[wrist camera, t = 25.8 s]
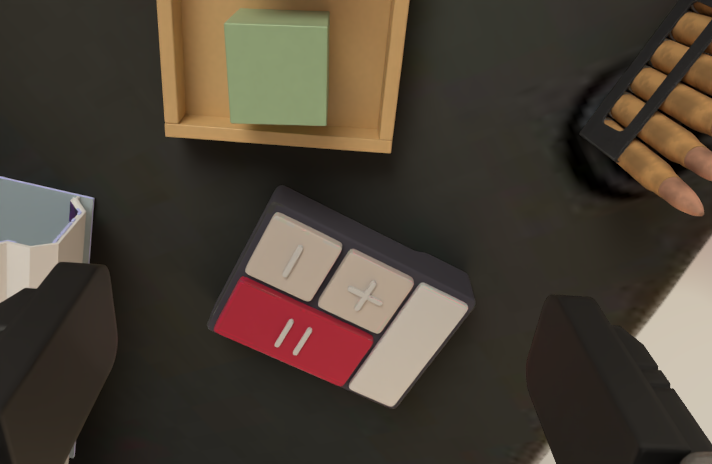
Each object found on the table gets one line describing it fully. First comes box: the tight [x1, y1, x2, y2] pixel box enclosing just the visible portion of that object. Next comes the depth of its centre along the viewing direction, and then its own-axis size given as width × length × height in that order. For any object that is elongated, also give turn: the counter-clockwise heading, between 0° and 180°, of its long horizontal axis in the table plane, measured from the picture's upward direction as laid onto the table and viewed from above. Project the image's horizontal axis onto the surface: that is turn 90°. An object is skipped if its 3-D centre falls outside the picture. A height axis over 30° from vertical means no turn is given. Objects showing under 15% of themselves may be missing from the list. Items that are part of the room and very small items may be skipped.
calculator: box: [207, 185, 476, 409], centre depth 41 cm, size 11×4×15 cm
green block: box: [224, 8, 330, 126], centre depth 32 cm, size 5×5×5 cm
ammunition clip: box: [580, 0, 712, 216], centre depth 30 cm, size 11×2×12 cm, turn 151°
